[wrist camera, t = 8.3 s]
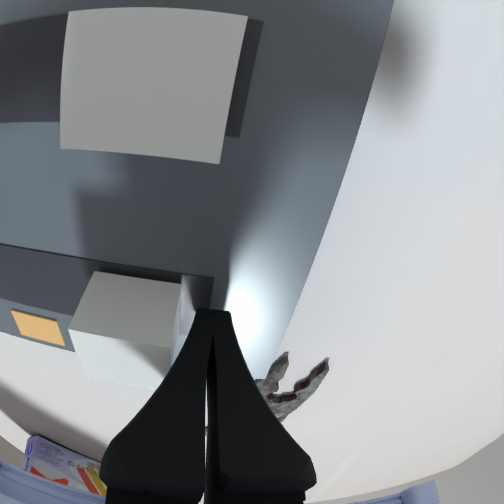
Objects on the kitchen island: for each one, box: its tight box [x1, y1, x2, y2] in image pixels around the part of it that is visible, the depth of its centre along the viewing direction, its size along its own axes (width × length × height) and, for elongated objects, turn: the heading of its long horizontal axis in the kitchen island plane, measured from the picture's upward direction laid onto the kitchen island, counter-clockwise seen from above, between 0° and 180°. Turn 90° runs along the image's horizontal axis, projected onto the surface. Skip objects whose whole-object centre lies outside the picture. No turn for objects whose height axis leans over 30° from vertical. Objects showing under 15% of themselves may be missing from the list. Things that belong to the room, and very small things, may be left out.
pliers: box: [205, 357, 329, 436], centre depth 24 cm, size 10×1×20 cm
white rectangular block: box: [60, 7, 248, 164], centre depth 6 cm, size 4×3×3 cm
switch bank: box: [0, 0, 394, 379], centre depth 11 cm, size 16×19×2 cm
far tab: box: [68, 271, 181, 391], centre depth 11 cm, size 4×3×3 cm
